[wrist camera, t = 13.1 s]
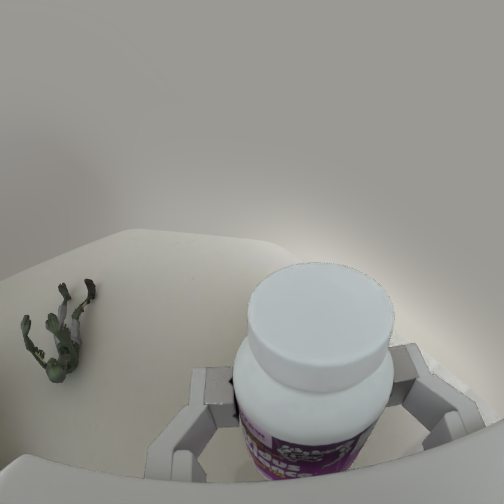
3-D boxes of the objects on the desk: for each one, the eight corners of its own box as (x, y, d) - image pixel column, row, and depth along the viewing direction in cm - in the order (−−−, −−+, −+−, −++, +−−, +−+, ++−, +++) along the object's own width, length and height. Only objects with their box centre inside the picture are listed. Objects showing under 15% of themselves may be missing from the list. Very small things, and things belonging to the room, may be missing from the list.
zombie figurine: (81, 245, 32) (54, 348, 20) (98, 293, 36) (89, 398, 24) (40, 254, 31) (2, 354, 19) (60, 299, 35) (40, 401, 22)
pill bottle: (227, 468, 13) (176, 340, 8) (275, 389, 17) (270, 235, 11) (334, 508, 10) (401, 416, 5) (369, 418, 14) (425, 268, 9)
